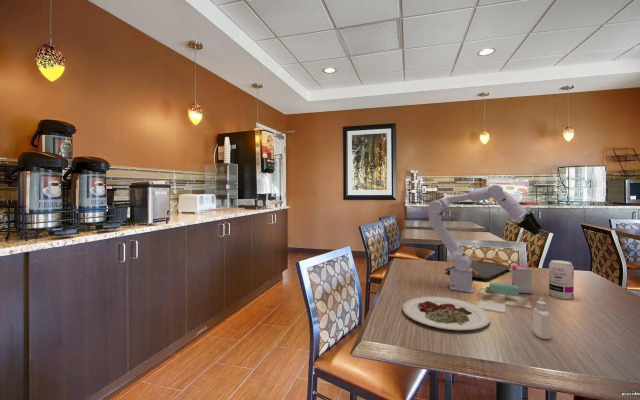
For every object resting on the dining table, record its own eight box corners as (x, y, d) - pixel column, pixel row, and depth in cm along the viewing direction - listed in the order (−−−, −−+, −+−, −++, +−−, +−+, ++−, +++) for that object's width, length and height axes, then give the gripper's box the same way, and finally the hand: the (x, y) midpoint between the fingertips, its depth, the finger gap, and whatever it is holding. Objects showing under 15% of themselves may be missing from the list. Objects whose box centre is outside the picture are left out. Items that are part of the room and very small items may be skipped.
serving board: (485, 284, 147) (485, 272, 147) (441, 275, 165) (441, 264, 164) (513, 270, 171) (513, 260, 171) (472, 263, 189) (472, 254, 189)
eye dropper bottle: (531, 336, 93) (531, 298, 93) (533, 330, 98) (533, 294, 97) (549, 341, 91) (549, 302, 90) (550, 334, 95) (550, 297, 94)
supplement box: (532, 294, 131) (532, 268, 130) (517, 293, 132) (517, 268, 131) (526, 290, 136) (526, 265, 136) (511, 289, 137) (511, 265, 137)
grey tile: (478, 309, 116) (478, 307, 116) (479, 301, 123) (479, 300, 123) (505, 313, 111) (505, 312, 111) (505, 305, 119) (505, 304, 119)
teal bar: (489, 292, 126) (489, 284, 126) (489, 290, 129) (489, 282, 129) (518, 296, 121) (518, 288, 120) (518, 294, 124) (518, 285, 124)
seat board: (478, 300, 124) (478, 291, 124) (480, 292, 135) (480, 283, 135) (531, 308, 115) (531, 299, 115) (528, 299, 125) (528, 290, 125)
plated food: (491, 343, 91) (491, 332, 90) (393, 323, 105) (393, 313, 105) (490, 308, 117) (490, 300, 117) (412, 296, 131) (411, 289, 131)
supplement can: (569, 294, 130) (569, 260, 129) (576, 301, 122) (576, 265, 122) (546, 292, 133) (546, 259, 133) (552, 298, 125) (552, 263, 125)
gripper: (517, 203, 120) (545, 229, 115) (522, 198, 131) (548, 221, 126) (502, 214, 124) (529, 240, 119) (509, 208, 135) (533, 231, 130)
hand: (538, 231), depth 123 cm, fingers open, 7 cm apart
